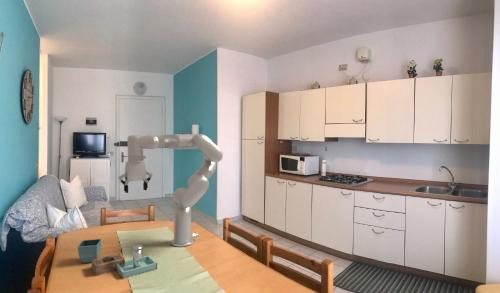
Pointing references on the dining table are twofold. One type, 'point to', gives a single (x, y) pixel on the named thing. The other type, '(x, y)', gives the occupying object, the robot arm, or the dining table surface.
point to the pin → (137, 256)
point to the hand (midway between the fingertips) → (136, 191)
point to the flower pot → (89, 250)
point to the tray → (146, 266)
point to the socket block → (107, 264)
